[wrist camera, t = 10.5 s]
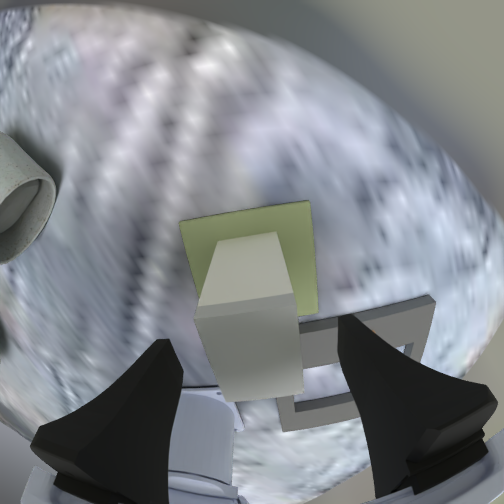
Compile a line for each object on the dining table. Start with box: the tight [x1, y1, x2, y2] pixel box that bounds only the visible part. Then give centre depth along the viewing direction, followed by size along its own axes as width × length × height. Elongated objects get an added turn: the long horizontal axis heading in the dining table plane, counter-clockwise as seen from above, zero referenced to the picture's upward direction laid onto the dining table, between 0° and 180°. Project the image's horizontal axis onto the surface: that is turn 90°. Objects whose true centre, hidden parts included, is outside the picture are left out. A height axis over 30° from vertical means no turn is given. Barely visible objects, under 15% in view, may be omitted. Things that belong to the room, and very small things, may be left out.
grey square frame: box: [276, 295, 436, 432], centre depth 21 cm, size 14×14×2 cm
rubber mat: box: [179, 200, 318, 316], centre depth 18 cm, size 8×8×1 cm
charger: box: [194, 231, 304, 402], centre depth 14 cm, size 4×5×8 cm
